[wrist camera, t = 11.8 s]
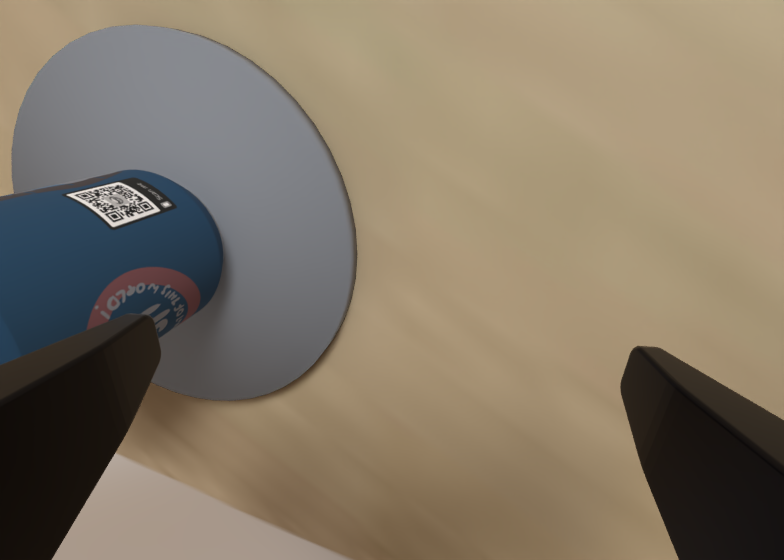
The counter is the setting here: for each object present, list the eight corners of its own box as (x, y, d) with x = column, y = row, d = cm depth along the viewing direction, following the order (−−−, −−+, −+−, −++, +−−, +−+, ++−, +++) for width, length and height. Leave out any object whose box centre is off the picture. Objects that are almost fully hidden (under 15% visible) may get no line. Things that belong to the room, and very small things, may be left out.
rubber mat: (396, 381, 23) (391, 393, 23) (118, 396, 29) (105, 406, 28) (289, -34, 18) (277, -40, 17) (-29, 86, 24) (-51, 86, 23)
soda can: (206, 332, 24) (-53, 530, 13) (94, 252, 24) (-256, 387, 13) (260, 224, 21) (-22, 370, 10) (131, 133, 21) (-285, 184, 10)
